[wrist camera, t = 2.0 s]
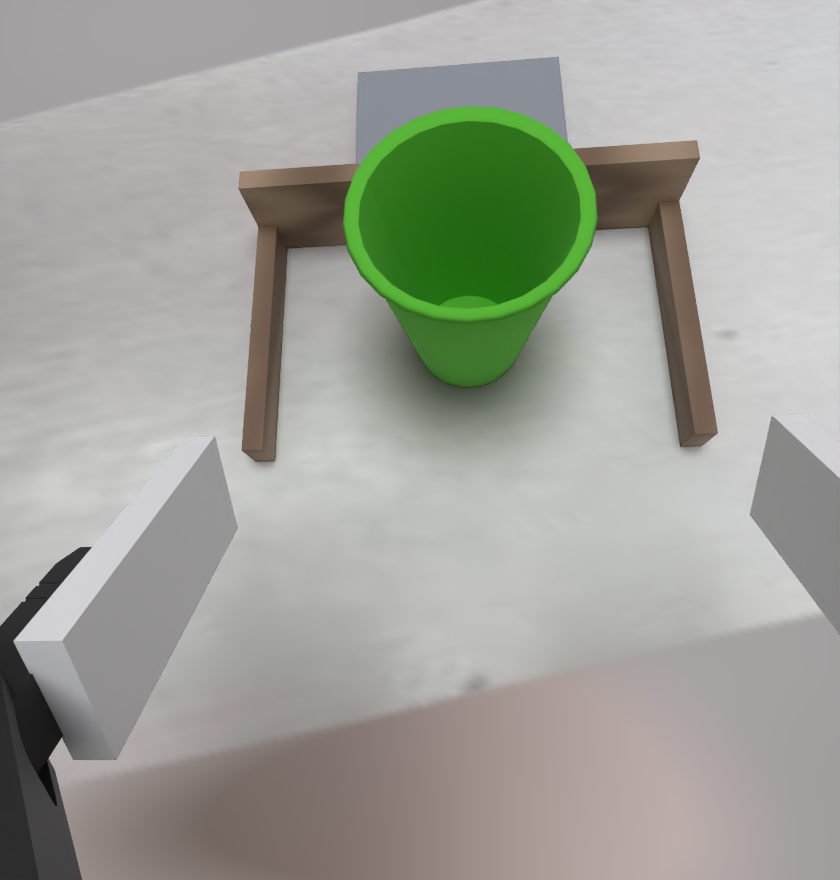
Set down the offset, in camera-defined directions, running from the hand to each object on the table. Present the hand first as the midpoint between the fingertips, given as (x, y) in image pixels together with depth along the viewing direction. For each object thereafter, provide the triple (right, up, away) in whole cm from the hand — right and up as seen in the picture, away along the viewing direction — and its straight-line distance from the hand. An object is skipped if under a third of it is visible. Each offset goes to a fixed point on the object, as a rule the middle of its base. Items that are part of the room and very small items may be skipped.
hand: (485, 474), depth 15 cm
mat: (+1, +18, +21) cm, 28 cm away
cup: (+1, +6, +17) cm, 18 cm away
